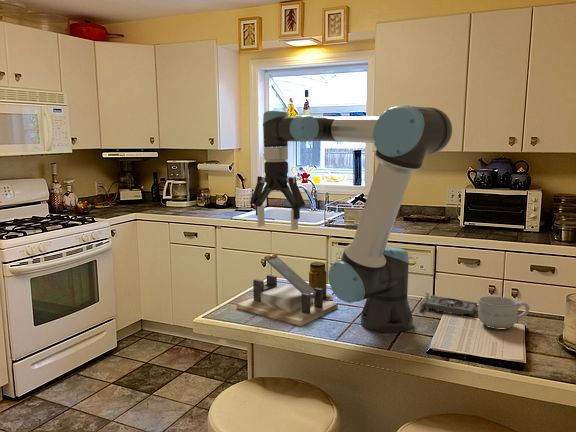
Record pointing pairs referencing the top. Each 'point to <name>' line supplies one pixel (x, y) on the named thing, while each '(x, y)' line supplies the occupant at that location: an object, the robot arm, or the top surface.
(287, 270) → the retention strap
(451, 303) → the graphics card
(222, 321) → the top surface
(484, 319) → the teacup
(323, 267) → the condiment
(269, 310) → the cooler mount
